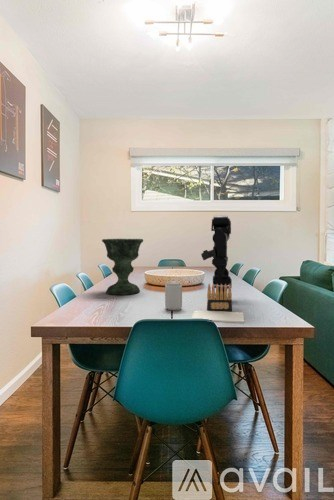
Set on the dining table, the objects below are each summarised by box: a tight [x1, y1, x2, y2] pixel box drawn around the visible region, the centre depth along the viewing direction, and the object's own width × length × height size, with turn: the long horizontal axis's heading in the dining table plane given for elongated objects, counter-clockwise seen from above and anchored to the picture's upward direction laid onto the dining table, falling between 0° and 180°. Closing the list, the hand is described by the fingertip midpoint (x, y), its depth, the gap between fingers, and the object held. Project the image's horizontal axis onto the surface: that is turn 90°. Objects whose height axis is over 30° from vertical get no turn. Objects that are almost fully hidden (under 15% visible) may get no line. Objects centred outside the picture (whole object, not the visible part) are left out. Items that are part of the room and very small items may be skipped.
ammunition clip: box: [206, 283, 233, 312], centre depth 142 cm, size 11×2×12 cm, turn 89°
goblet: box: [101, 238, 144, 296], centre depth 185 cm, size 22×23×30 cm
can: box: [164, 280, 183, 311], centre depth 147 cm, size 8×8×12 cm
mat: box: [190, 309, 245, 324], centre depth 133 cm, size 14×20×1 cm
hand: (220, 278), depth 149 cm, fingers open, 4 cm apart
